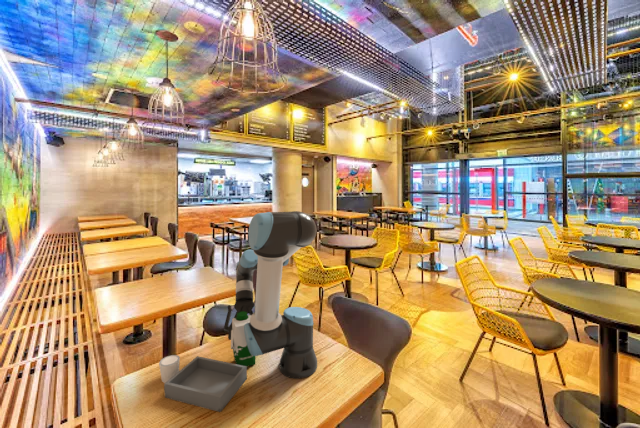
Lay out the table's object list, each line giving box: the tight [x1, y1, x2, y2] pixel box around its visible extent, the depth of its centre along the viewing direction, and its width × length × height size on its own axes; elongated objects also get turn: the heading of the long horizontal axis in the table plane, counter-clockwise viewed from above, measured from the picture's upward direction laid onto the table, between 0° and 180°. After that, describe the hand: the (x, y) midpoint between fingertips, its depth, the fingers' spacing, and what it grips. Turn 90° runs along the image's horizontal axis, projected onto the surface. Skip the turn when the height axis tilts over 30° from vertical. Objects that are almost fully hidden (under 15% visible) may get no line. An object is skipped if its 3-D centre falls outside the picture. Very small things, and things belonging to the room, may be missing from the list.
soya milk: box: [231, 311, 257, 368], centre depth 111 cm, size 9×9×20 cm
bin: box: [163, 356, 248, 413], centre depth 98 cm, size 22×16×5 cm
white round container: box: [158, 354, 181, 384], centre depth 103 cm, size 7×7×7 cm
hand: (244, 346), depth 108 cm, fingers closed on soya milk, 9 cm apart
